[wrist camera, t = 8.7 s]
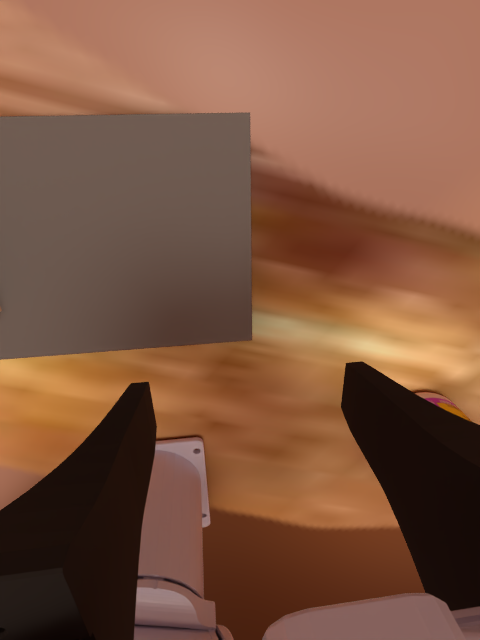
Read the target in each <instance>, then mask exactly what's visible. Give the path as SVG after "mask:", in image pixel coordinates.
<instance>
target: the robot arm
mask: <svg viewBox="0 0 480 640" xmlns="http://www.w3.org/2000/svg"><path fill="white" fill-rule="evenodd" d="M341 408H342V411H343V414H344V416H345V419H346V421H347V424H348V426H349V429H350V431H351V433H352V435H353V437H354V438H355V440H356V442H357V444H358V446H359V447H360V449H361V451H362V453H363V454H364V456H365V458H366V460H367V461H368V463H369V465H370V467H371V469H372V470H373V472H374V474H375V476H376V477H377V479H378V481H379V483H380V485H381V486H382V488H383V490H384V492H385V494H386V496H387V499H388V501H389V503H390V505H391V508H392V510H393V512H394V515H395V517H396V519H397V521H398V524H399V526H400V529H401V531H402V533H403V536H404V538H405V541H406V543H407V546H408V548H409V550H410V552H411V555H412V558H413V561H414V563H415V566H416V569H417V571H418V574H419V576H420V579H421V582H422V584H423V587H424V590H425V593H406V594H399V595H393V596H387V597H380V598H374V599H367V600H362V601H355V602H348V603H342V604H335V605H330V606H323V607H316V608H310V609H305V610H302V611H298V612H295V613H292V614H288V615H285V616H283V617H282V618H281V619H279V620H278V621H276V622H275V623H273V624H272V625H270V626H269V628H268V629H267V631H266V632H265V634H264V637H263V639H262V640H480V425H478V424H476V423H473V422H471V421H468V420H466V419H464V418H462V417H460V416H457V415H455V414H453V413H451V412H449V411H447V410H445V409H443V408H441V407H439V406H437V405H435V404H433V403H431V402H429V401H427V400H426V399H424V398H422V397H420V396H418V395H417V394H415V393H413V392H411V391H410V390H408V389H406V388H405V387H403V386H401V385H400V384H398V383H396V382H395V381H393V380H392V379H390V378H388V377H387V376H385V375H384V374H382V373H380V372H379V371H377V370H376V369H374V368H372V367H371V366H369V365H367V364H366V363H364V362H352V363H346V367H345V376H344V385H343V394H342V402H341ZM156 429H157V426H156V420H155V415H154V409H153V403H152V398H151V392H150V387H149V382H141V383H131V384H130V385H129V386H128V388H127V389H126V390H125V392H124V393H123V394H122V396H121V397H120V398H119V400H118V401H117V402H116V404H115V405H114V406H113V408H112V409H111V410H110V411H109V413H108V414H107V415H106V416H105V418H104V419H103V420H102V421H101V423H100V424H99V425H98V426H97V427H96V428H95V430H94V431H93V432H92V433H91V434H90V435H89V436H88V437H87V438H86V440H85V441H84V442H83V443H82V444H81V445H80V446H79V447H78V448H77V449H76V450H75V451H74V452H73V453H72V454H71V455H70V456H69V457H68V458H67V459H66V460H64V461H63V462H62V463H61V464H60V465H59V466H58V467H57V468H56V469H54V470H53V471H52V472H51V473H49V474H48V475H47V476H46V477H44V478H43V479H42V480H41V481H40V482H38V483H37V484H36V485H35V486H33V487H32V488H31V489H30V490H28V491H27V492H26V493H24V494H23V495H21V496H20V497H19V498H17V499H16V500H15V501H13V502H12V503H10V504H9V505H7V506H6V507H4V508H3V509H2V510H0V640H234V639H233V637H232V635H231V633H230V631H229V630H228V629H227V628H226V627H224V626H222V625H216V620H215V619H216V618H215V603H214V602H213V601H207V600H204V585H203V547H202V546H203V541H202V527H207V526H208V525H209V524H210V511H209V500H208V489H207V478H206V467H205V455H204V444H203V440H202V439H201V438H199V437H193V438H183V439H173V440H163V441H156ZM195 449H198V450H195Z"/></svg>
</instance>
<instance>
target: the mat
mask: <svg viewBox="0 0 480 640" xmlns="http://www.w3.org/2000/svg"><path fill="white" fill-rule="evenodd" d="M0 307H1V310H2V311H1V312H0V360H1V359H14V358H27V357H40V356H53V355H66V354H79V353H92V352H105V351H118V350H131V349H144V348H157V347H170V346H183V345H196V344H209V343H222V342H235V341H248V340H252V280H251V161H250V113H195V114H135V115H74V116H14V117H0Z"/></svg>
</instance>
